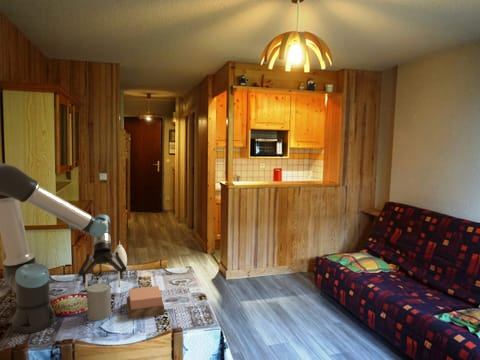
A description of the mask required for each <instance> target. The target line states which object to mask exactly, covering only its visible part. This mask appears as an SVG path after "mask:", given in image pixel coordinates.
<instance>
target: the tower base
mask: <svg viewBox="0 0 480 360" xmlns="http://www.w3.org/2000/svg"><path fill="white" fill-rule="evenodd" d="M125 299H126V311H127V319H128V320H129V319H130V320H131V319H139V318H145V317H152V316H159V315H160V316H161V315H165V304H164V302H163V300H162V306H157V307H149V308H142V309H134V310H131V306H130V300H129V295H128V296H126V297H125Z"/></svg>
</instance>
